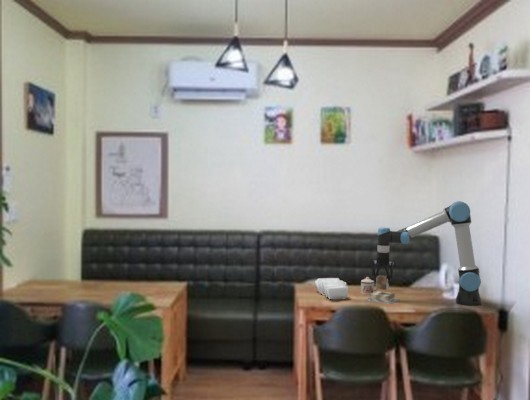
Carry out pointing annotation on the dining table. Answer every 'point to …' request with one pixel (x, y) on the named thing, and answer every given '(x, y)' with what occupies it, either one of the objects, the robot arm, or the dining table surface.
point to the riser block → (382, 296)
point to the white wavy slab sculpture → (332, 288)
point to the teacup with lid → (367, 286)
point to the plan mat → (384, 302)
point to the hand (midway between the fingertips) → (382, 288)
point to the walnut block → (381, 282)
